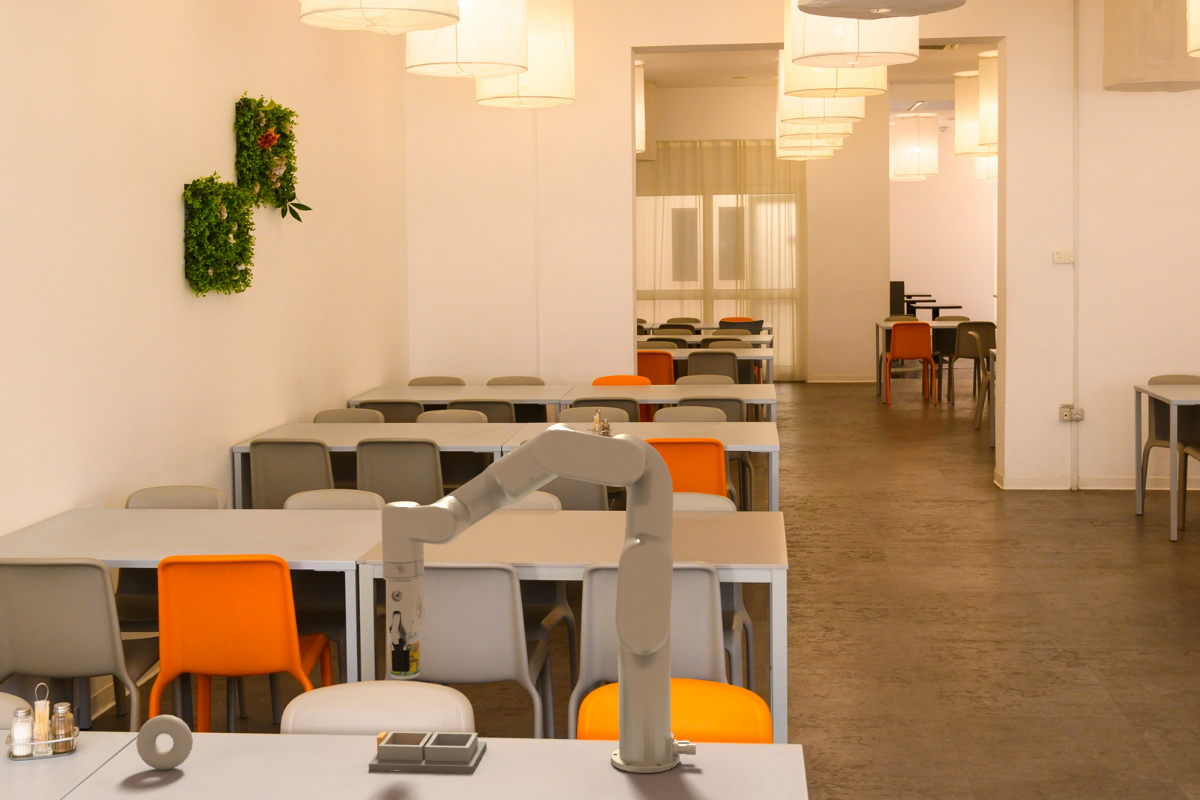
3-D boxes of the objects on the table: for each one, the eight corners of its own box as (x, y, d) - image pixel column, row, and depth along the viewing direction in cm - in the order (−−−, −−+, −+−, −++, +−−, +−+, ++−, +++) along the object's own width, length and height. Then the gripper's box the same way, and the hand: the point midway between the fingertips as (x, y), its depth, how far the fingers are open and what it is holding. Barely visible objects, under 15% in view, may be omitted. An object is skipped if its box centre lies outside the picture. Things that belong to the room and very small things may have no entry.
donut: (196, 765, 216) (194, 711, 216) (190, 771, 213) (188, 717, 213) (141, 766, 216) (139, 712, 216) (134, 773, 213) (132, 718, 212)
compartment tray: (486, 747, 224) (486, 725, 223) (472, 772, 211) (472, 748, 210) (388, 745, 225) (388, 723, 225) (368, 770, 212) (368, 746, 212)
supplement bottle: (412, 670, 221) (411, 619, 221) (424, 676, 217) (423, 625, 216) (385, 674, 218) (384, 623, 218) (397, 681, 214) (396, 629, 213)
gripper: (411, 578, 208) (413, 680, 209) (434, 560, 225) (436, 654, 226) (370, 578, 208) (372, 679, 209) (395, 560, 226) (397, 654, 226)
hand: (405, 665), depth 218 cm, fingers closed on supplement bottle, 5 cm apart
